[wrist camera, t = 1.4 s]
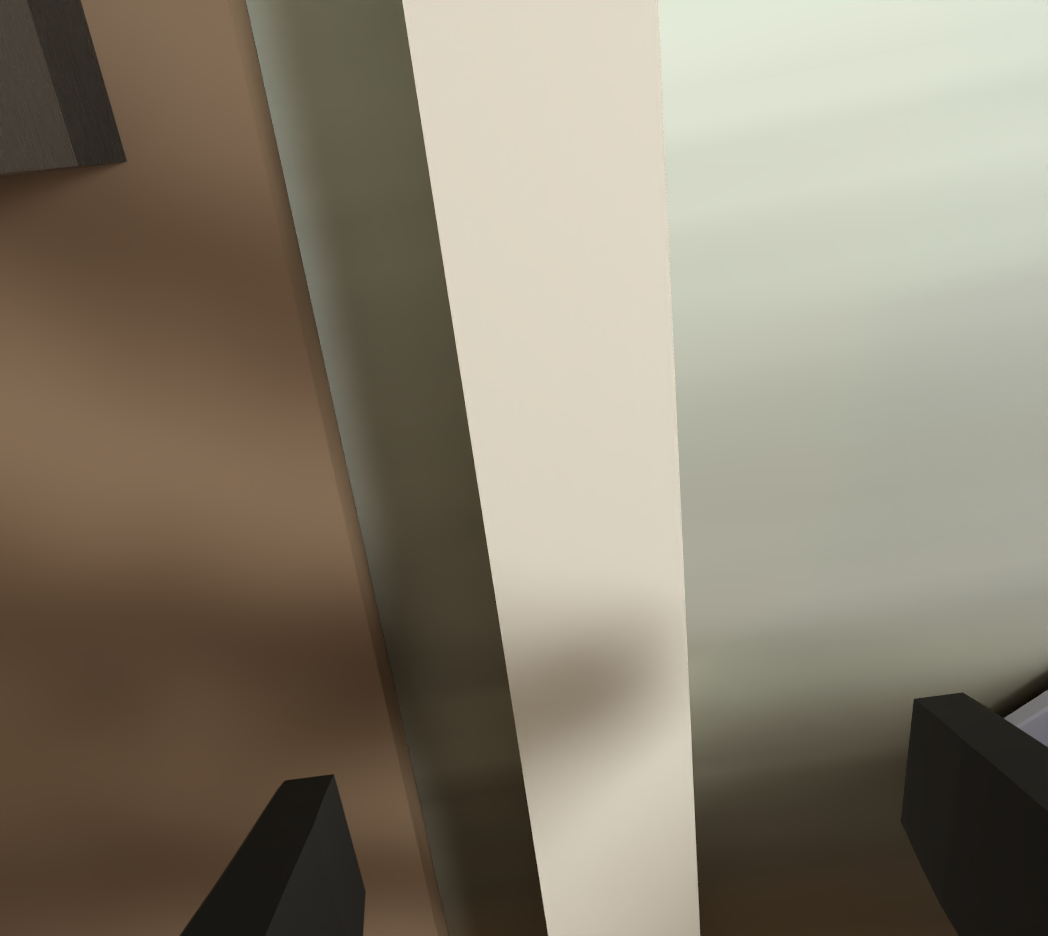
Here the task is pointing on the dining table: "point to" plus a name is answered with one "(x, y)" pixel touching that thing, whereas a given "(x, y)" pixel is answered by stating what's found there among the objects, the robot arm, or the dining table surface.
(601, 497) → the slat
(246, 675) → the frame board
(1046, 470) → the dining table surface
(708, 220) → the dining table surface
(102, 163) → the end caps
